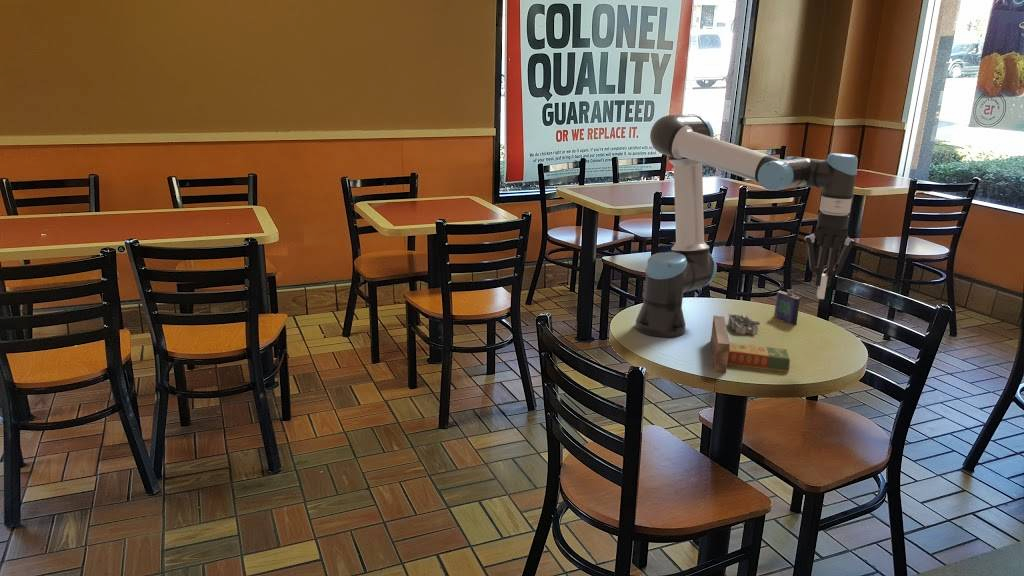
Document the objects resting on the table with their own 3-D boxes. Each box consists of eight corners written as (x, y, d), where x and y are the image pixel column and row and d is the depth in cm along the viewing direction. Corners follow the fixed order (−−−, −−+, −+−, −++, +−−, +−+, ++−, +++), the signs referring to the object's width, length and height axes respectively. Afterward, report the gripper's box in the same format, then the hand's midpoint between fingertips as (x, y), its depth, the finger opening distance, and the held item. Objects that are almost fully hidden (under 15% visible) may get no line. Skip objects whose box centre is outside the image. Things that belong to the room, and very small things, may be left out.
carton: (726, 355, 210) (727, 340, 208) (785, 362, 206) (787, 347, 205) (727, 365, 202) (729, 350, 201) (788, 373, 198) (791, 358, 197)
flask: (771, 316, 244) (776, 285, 241) (778, 315, 245) (783, 285, 242) (792, 325, 236) (797, 293, 233) (799, 324, 237) (804, 293, 234)
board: (714, 371, 197) (718, 343, 194) (710, 341, 219) (713, 315, 217) (726, 372, 196) (729, 344, 194) (720, 342, 219) (724, 316, 216)
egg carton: (759, 336, 226) (761, 323, 225) (735, 335, 226) (737, 322, 225) (748, 324, 237) (750, 312, 235) (725, 323, 236) (727, 311, 235)
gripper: (810, 213, 193) (797, 299, 200) (863, 217, 191) (848, 303, 198) (805, 208, 200) (793, 291, 207) (856, 212, 198) (842, 296, 205)
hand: (820, 297), depth 202 cm, fingers closed
